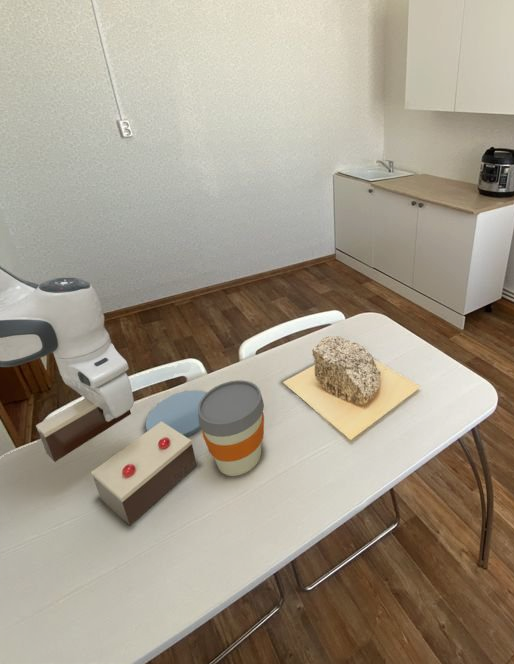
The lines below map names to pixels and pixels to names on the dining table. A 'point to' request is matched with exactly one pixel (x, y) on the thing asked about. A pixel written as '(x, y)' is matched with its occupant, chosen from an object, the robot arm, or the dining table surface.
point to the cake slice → (73, 428)
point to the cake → (144, 471)
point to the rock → (349, 385)
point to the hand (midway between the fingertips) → (103, 413)
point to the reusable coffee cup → (233, 425)
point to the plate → (177, 412)
